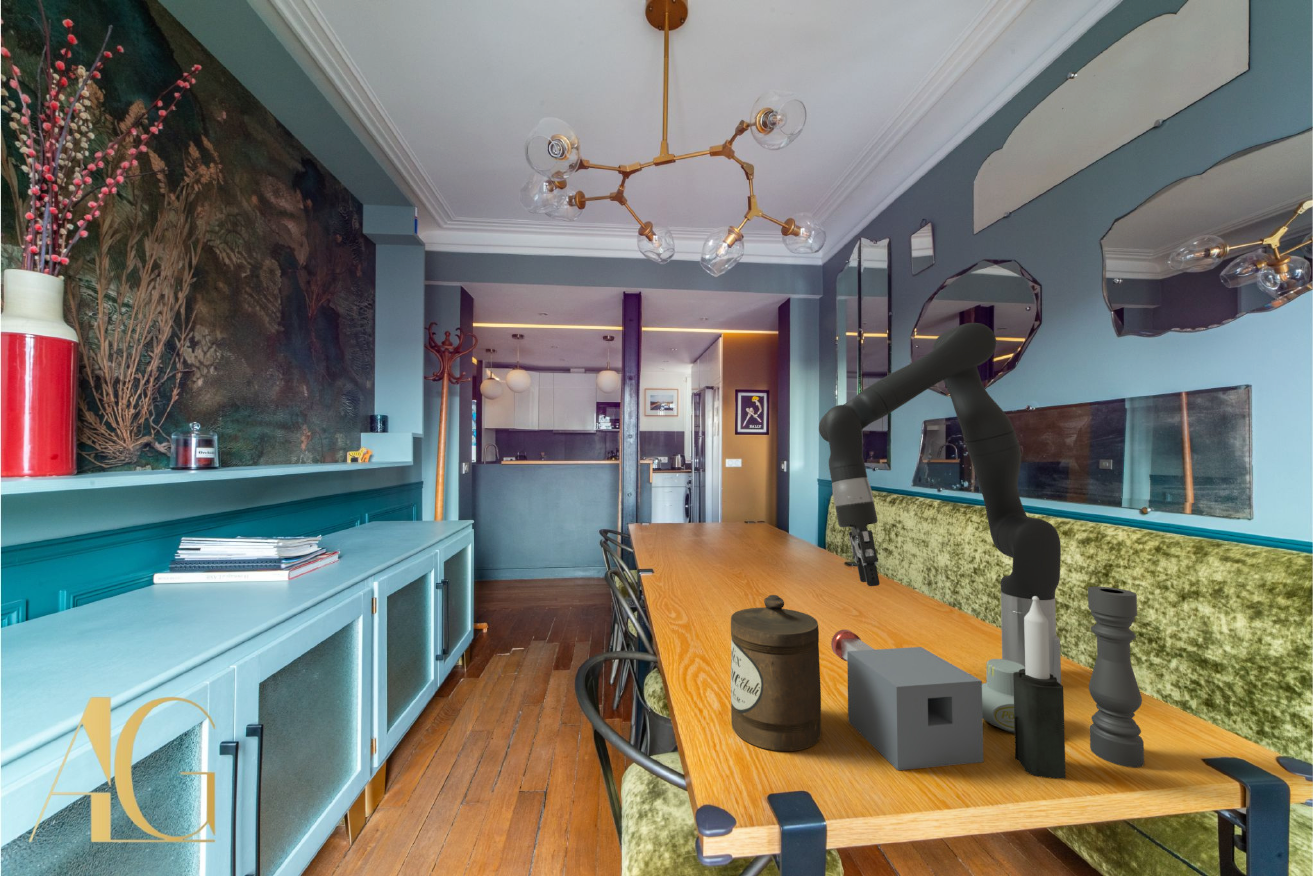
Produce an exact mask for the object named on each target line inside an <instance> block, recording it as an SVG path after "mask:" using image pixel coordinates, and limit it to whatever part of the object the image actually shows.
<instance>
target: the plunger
mask: <svg viewBox="0 0 1313 876" xmlns="http://www.w3.org/2000/svg"><path fill="white" fill-rule="evenodd" d="M830 645H831V649H832V652H833V653H834V654H835V655H836V656H837V657H838V658H840V660H842V661H844V662H847V651H859V650H876V649H875V648H873V647H872V646H870V645H869V644H867V643H866V642H864V641H862V639H861V638H860V637H859V636H858V634H856V633H854V632H853V631H852V630H850V629H841V630H838V631H837V632H835V634H834V635H833V636H832V638H831V641H830Z"/></svg>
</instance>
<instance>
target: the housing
mask: <svg viewBox="0 0 1313 876" xmlns="http://www.w3.org/2000/svg"><path fill="white" fill-rule="evenodd" d="M846 662H847V722H848V723H849V725H851V726H852V727H853V728H854V729H855V730H856V731H857V732H858V733H859V734H860V735H861V736H862V737H863V738H864V739H865V740H866V741H867V742H868V743H869V744H870V745H871V746H873V748H874V749H875V750H877V752H878V753H879V754H881V756H882V757H883V758H885V759H886V761H888V762H889V763H890V764H891V765H892V766H893V767H894V768H895V769H896V770H897V771H905V770H914V769H924V768H925V769H926V768H935V767H936V768H937V767H947V766H957V765H958V766H959V765H966V764H977V763H979V764H980V763H984V733H983V732H984V726H983V725H984V724H983V723H984V722H983V720H984V719H983V716H982V684H983V681H982V680H981V679H979V678H978V677H976V676H974V675H972V674H971V673H968V672H967V671H966V670H963V669H962V668H959V667H958V666H956V665H955V664H953V663H951V662H949V661H947V660H945V659H943V658H942V657H940V656H938V655H936V654H935V653H933V652H931V651H930V650H928V649H925V647H921V646H916V647H915V646H913V647H912V646H911V647H897V648H895V647H894V648H881V649H879V648H878V649H875V650H859V651H847V661H846Z"/></svg>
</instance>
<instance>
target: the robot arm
mask: <svg viewBox="0 0 1313 876" xmlns="http://www.w3.org/2000/svg"><path fill="white" fill-rule="evenodd" d="M996 338H997V337H996V335H995V332H994V331H993V330H992V329H991V328H990V327H989V326H987V325H985V324H983V323H981V322H980V323H978V322H968V323H963V324H961V325H958V326H956V327H955V328H952V329H949V330H946V331H944V332H943V333H941V334H940V335H939V336H938V337H937V338H936V339H935V341H934V342H933V346H932V350H931V352H929V353H927V354H926V355H924V356H922V357H921V358H919V359H917V360H915V361H913V362H911V363H910V364H908V365H905V366H903V367H901V368H898V369H897V370H895V371H893V372H891V373H890V374H888V375H886V376H884V377H883V378H880V379H879V380H877V381H875V382H874V383H872V384H871V385H869V386H868V387H866V388H864V389H863V390H862V391H860V392H859V393H858V394H857V395H855V397H853V398H852V399H851V400H849V401H847V402H846V403H844V404H838V405H836V406H833V407H831V408H830V409H829V410H828V411H827V412H826V413H824V415H823V416H822V417H821V419H820V420H819V424H818V432H819V435H820V437H821V438H822V439H823V440H825V442H828V443H829V445H828V446H829V452H830V454H829V456H828V457H829V458H828V469H829V474H830V479H831V485H832V497H833V502H834V507H835V512H836V517H837V519H836V520H837V523H838V526H839V527H840V528H850V530H851V531H848V537H849V543H850V545H851V546H850V547H851V552H852V558H853V560H854V562H855V563H856V565H857V571H858V576H859V580H860V582H861V583H866V585H867V586H868V587H878V586H879V585H880V577H879V572H878V568H877V565H878V562H879V557H878V554H877V550H876V546H875V541H874V536H873V533H874V532H873V531H872V529H869V528H868V525H874V524H875V525H876V524H878V520H879V519H878V517H877V511H876V506H875V501H874V496H873V492H872V487H871V484H870V482H869V478H868V474H867V469H866V464H865V460H864V456H863V449H864V447H863V446H864V444H863V429H865V428H867V427H868V426H869V425H870V424H872V423H874V422H876V421H878V420H880V419H882V418H884V417H886V416H887V415H889V414H890V413H892V412H894V411H896V410H897V409H899V408H900V407H902V406H903V405H905V404H907V403H908V402H910V401H911V400H913V399H914V398H916V397H918V396H919V395H920V394H922V393H924V392H925V391H927V390H928V389H930V388H932V387H933V386H935V385H937V384H939V383H940V382H942V381H943V383H944V385H945V387H946V389H947V392H948V394H949V396H950V400H951V402H952V405H953V409H954V412H955V414H956V418H957V421H958V423H959V426H960V431H961V432H962V437H963V440H964V443H965V444H964V445H965V446H966V450H967V453H968V456H969V459H970V461H971V463H972V467H973V470H974V473H975V476H976V480H977V483H978V486H979V488H980V491H981V494H982V497H983V503H984V507H985V511H986V517H987V523H988V527H989V532H990V536H991V540H992V542H993V544H994V547H995V548H996V549H997V550H998V551H999V552H1000V553H1001V554H1003V555H1005V556H1006V557H1009V558H1012V568H1011V573H1010V574H1009V575H1008V574H1007V575H1005V576H1003V577H1002V578H1001V579H1000V609H1001V610H1000V613H1001V614H1000V616H1001V617H1000V618H1001V659H1004V660H1009V661H1013V662H1016V663H1019V664H1021V665H1023V666H1024V667H1025V634H1024V617H1025V616H1026V615H1027V613H1028V612H1029V611H1030V608H1031V605H1032V602H1033V600H1032V597H1034V596H1037V597H1038V598H1039V601H1038V602H1039V605H1040V608H1041V610H1042V613H1043V615H1044V616H1045V617H1046V618H1047V620H1048V627H1049V668H1050V674H1052V675H1053V677H1056V678H1057V682H1058V683H1060V684H1061V685H1062V661H1061V640H1060V638H1059V636H1057V624H1056V623H1057V622H1056V621H1057V619H1056V613H1057V612H1056V590H1057V588H1058V587H1059V584H1060V580H1061V579H1060V578H1061V556H1062V555H1061V553H1062V549H1061V547H1062V546H1061V537H1060V535H1059V533H1058V531H1057V529H1056V527H1055V526H1054V525H1053V524H1051V523H1050V522H1049V521H1046V520H1045V519H1040V518H1036V517H1032V516H1031V517H1030V516H1028V515H1027V513H1026V511H1025V509H1024V506H1023V503H1022V500H1021V498H1020V493H1019V488H1018V487H1019V486H1018V485H1019V484H1018V481H1019V476H1020V470H1021V463H1022V452H1021V451H1022V450H1021V446H1020V442H1019V440H1018V437H1017V434H1016V431H1015V428H1014V426H1013V424H1012V421H1011V420H1010V418H1009V417H1008V415H1007V414H1006V412H1005V411H1004V410H1003V409H1002V408H1001V407H1000V405H999V404H998V403H997V402H996V401H995V400H994V398H992V396H991V395H990V394H989V393H988V392H987V389H986V387H984V383H983V381H982V380H981V379H982V378H981V376H980V373H979V369H978V366H981V365H982V364H984V363H986V362H987V361H988V360H989V359H990V358H991V357H992V356H993V354H994V352H995V350H996V347H997V339H996ZM868 529H869V530H868Z"/></svg>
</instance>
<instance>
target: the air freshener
mask: <svg viewBox="0 0 1313 876" xmlns="http://www.w3.org/2000/svg"><path fill="white" fill-rule="evenodd" d="M985 663H986V682H984V683H983V682H982V716H983V720H984V721H986V722H987V723H989V724H991V725H992V726H994V727H996V728H999V729H1001V730H1004V731H1006V732H1009V733H1014V734H1015V729H1014V684H1013V673H1014V672H1019V670H1020V669H1025V667H1024V666H1023V665H1021V664H1019V663H1016V662H1013V661H1009V660H1004V659H1002V658H991V659H989V660H987V662H985Z"/></svg>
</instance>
